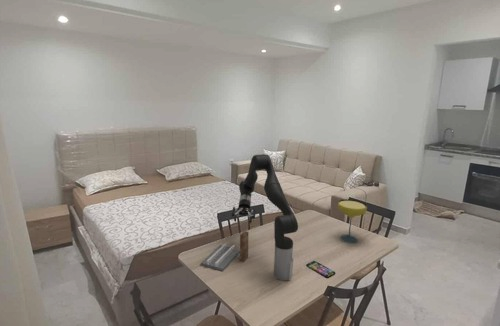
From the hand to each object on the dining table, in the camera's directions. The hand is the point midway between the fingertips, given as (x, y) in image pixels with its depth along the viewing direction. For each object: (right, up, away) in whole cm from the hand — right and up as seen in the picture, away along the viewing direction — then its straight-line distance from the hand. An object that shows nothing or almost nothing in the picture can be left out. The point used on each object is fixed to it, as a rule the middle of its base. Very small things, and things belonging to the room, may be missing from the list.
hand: (242, 221), depth 165 cm
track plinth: (-12, -21, -3) cm, 24 cm away
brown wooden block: (+1, -21, -3) cm, 21 cm away
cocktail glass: (+71, -17, +24) cm, 77 cm away
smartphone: (+43, -24, -12) cm, 51 cm away
